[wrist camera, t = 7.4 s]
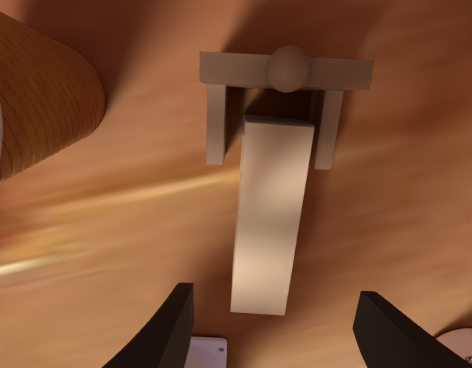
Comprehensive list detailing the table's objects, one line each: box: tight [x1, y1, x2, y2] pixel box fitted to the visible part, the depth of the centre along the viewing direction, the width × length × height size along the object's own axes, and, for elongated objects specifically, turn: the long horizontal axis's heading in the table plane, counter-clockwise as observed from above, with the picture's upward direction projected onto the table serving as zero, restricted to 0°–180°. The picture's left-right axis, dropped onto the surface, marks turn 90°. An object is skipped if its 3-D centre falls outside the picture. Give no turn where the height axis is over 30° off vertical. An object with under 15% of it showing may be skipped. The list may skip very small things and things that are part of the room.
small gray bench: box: [200, 45, 374, 170], centre depth 15 cm, size 6×8×8 cm
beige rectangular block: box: [231, 114, 315, 316], centre depth 18 cm, size 12×4×5 cm, turn 176°
